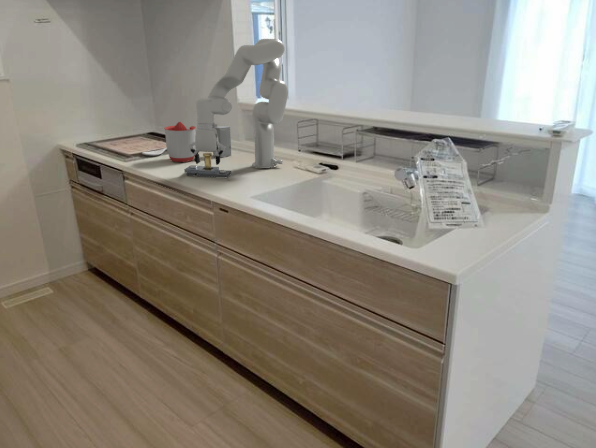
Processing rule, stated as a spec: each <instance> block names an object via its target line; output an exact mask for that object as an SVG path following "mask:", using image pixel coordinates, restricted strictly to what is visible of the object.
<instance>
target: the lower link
mask: <svg viewBox="0 0 596 448" xmlns="http://www.w3.org/2000/svg"><path fill="white" fill-rule="evenodd" d="M230 174H231V175H232V170H226V169H219V170H218V171H217V172H216V173H215V174H201V173H197V175H196V177H199V178H216V177H227V178H228V177H230V176H231V175H230Z"/></svg>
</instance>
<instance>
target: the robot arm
mask: <svg viewBox="0 0 596 448" xmlns="http://www.w3.org/2000/svg"><path fill="white" fill-rule="evenodd" d="M284 52H285V45H284V42H282V41H281V40H280V39H279V38H278V39H276V38H262V39H259V40H257V42H256V43H255V44H246V45H245V44H244V45H241V46H239V47H238V49H237V50H236V52H235V55H234V57H233V58H232V60H231V62H230V64H229V66H228V68H227V69H226V72H225V73H224V74H223V76H222V77H220V78H219V80H218V81H217V82H216V83H215V84H214V85H213V87H212V89H211V90H210V92H209V95H208V96H207V97H204V98H203V97H202V98H201V97H200V98H198V99H196V101H195V106H196V107H195V108H196V109H195V110H196V125H197V126H196V127H197V128H195V142H194V143H192V144H190V145H188V146H189V148H190V150H191V152H192V153H193V154H194V155H195V156H194V162H195V164H196V165H198V164H200V154H199V153H200V152H201V153H202V152H203V153H213V152H214V153H215V154H216V156H215V165H216V166H218V165H220V163H221V157H220V155H221V154H222V153H223V152H224V149H225V146H224V145H222V144H220V143H219V142H218V135H217V131H216V129H214V128H215V127H218V124H216V123H215V118H214V115H221V116H224V115H228V114H230V112H231V111H232V108H233V105H232V102H231V101H230V99H228V98H226V96H227V94H229V92H230V91H232V90H233V89H234V88H236V87H238V86H240V85H242V84H243V82H244V81H245V78H246V77H247V74H248V72H249V71H250V69H251V66H259V65H262V72H261V79H260V84H259V96H261V97H262V98H263V99H264V100H268V102H267V101H259V102H257V103H255V104H254V106H253V108H252V120H253V125H254V126H253V128H254V162H252V163H251V167H252V166H253V168H254V167H257V168H256V169H258V168H269V167H274V166H276V165H277V166H278V165H283V159H280V158H278V159H277V158H276V156H275V129H274V128H275V127H274V125H277V124H279V123H281V121H283V118H284V115H285V111H286V106H287V101H288V97H289V96H288V95H289V89H288V85H287V84H286V83H285V82H284V81H283V80H280V78H281V73H282V72H281V71H282V68H281V67H282V66H281V62H280V58H281V57H282V56H283V55H284V54H285V53H284ZM194 145H195V149H196V150H195V149H194V148H193V146H194ZM219 147H220V148H221V151H220V152H219V150H218V149H219Z"/></svg>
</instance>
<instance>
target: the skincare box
mask: <svg viewBox="0 0 596 448" xmlns="http://www.w3.org/2000/svg"><path fill="white" fill-rule="evenodd" d="M214 129H216V131H217V135H218V142H219V143H220V144H222V145H224V146H225V149H224V152H223V153H222V154H221V155H220V159H221V158H225V157H229V156H232V143H231V142H232V139H231V138H232V137H231V126H225V125H224V126H222V125H221V126H217V127H215V128H214ZM218 150H219V152H220V151H221V148H220V147H219V149H218ZM212 153H213V154H212V156H213V157H216V154H215V153H214V152H212Z"/></svg>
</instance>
